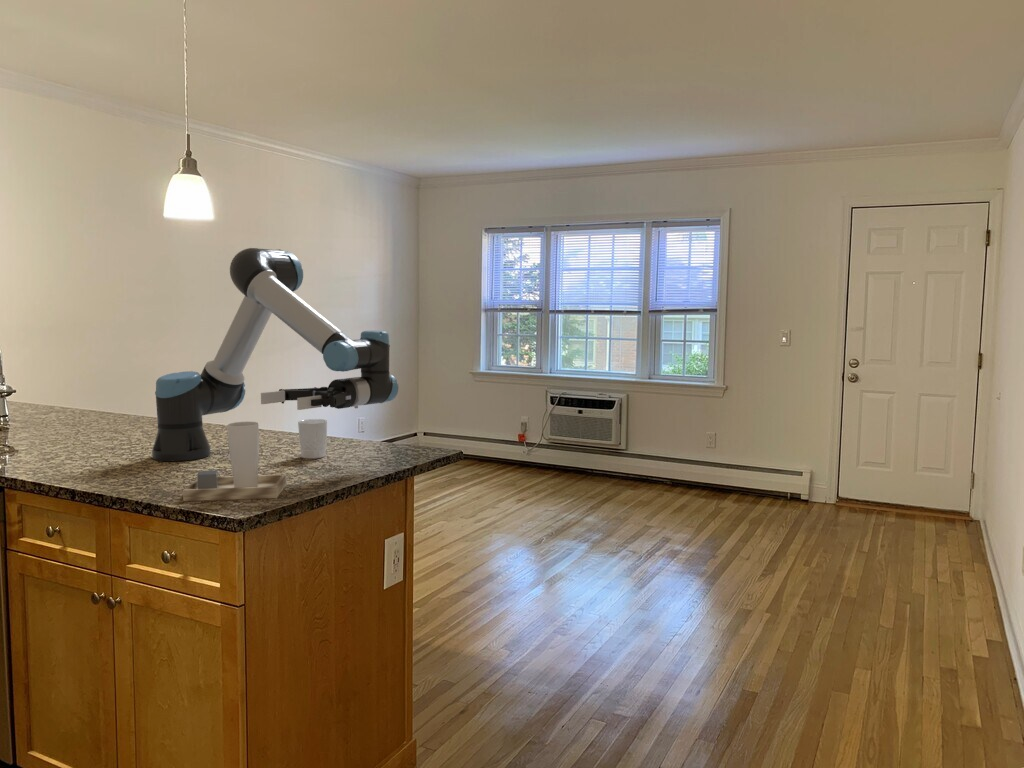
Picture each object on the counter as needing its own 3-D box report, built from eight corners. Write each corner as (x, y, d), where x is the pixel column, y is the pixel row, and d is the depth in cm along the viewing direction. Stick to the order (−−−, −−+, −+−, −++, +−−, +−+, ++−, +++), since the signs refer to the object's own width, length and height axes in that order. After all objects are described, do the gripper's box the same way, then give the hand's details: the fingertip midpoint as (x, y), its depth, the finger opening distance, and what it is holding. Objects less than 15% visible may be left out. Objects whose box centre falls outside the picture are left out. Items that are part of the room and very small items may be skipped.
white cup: (320, 459, 219) (319, 423, 218) (294, 458, 221) (292, 423, 220) (332, 454, 227) (331, 419, 226) (307, 453, 228) (305, 418, 227)
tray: (183, 501, 175) (182, 490, 175) (199, 487, 188) (199, 477, 187) (276, 497, 177) (276, 487, 177) (286, 484, 190) (286, 474, 190)
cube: (198, 492, 179) (197, 475, 179) (199, 488, 183) (198, 471, 182) (217, 491, 180) (216, 473, 180) (218, 487, 184) (217, 470, 184)
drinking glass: (234, 485, 186) (231, 421, 184) (264, 484, 186) (261, 421, 184) (227, 492, 179) (223, 426, 177) (257, 491, 180) (254, 426, 178)
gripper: (382, 412, 198) (314, 422, 181) (316, 402, 213) (247, 411, 196) (382, 382, 197) (314, 389, 180) (315, 374, 212) (247, 381, 195)
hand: (279, 401), depth 188 cm, fingers open, 13 cm apart
